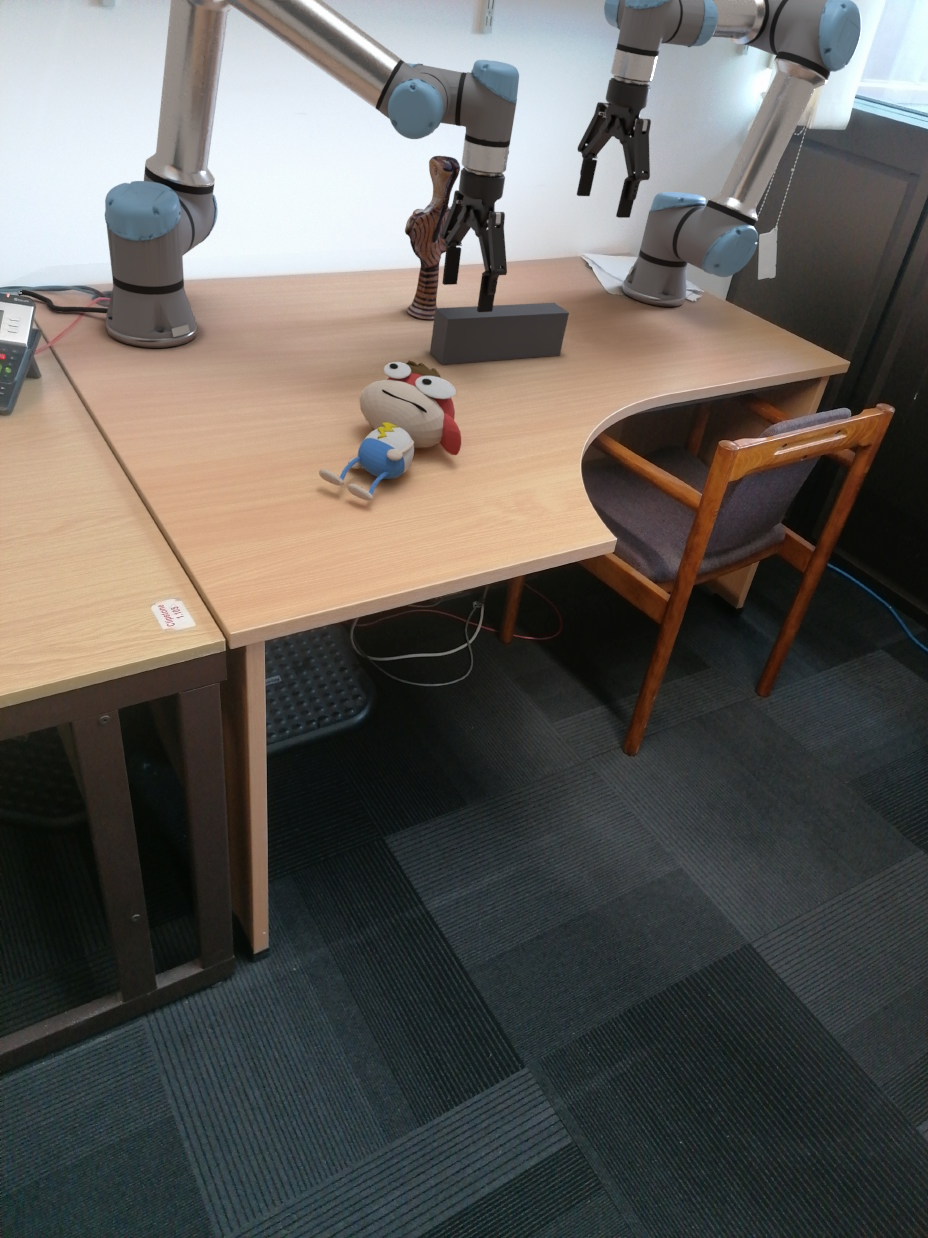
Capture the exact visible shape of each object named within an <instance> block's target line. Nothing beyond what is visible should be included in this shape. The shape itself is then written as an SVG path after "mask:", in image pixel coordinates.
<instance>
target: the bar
mask: <svg viewBox="0 0 928 1238" xmlns="http://www.w3.org/2000/svg"><path fill="white" fill-rule="evenodd" d="M477 307H478V305H477V306H475V305H474V306H455V307H454V306H453V307H437V308H435V316H434V319H433V326H432V332H431V341H430V350H429V354H430V355H431V356H432V357H434V359H435V360H436V361H438V362H439V363H440V364H441V365H459V364H468V363H469V364H471V363H480V362H481V363H483V362H494V361H506V360H508V361H509V360H519V359H531V358H542V357H543V358H544V357H558V356H561V353H562V352H561V351H562V346H563V342H564V338H565V333H566V330H567V329H566V328H567V325H568V319H569V315H570V312H569V311H567V309H564V308H563V307H561V306H560V305H559V304H557V303H556V302H541V303H520V304H519V303H518V304H498V305H497V304H496V305H494V304H493V310H492V312H478V311H477Z"/></svg>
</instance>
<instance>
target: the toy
mask: <svg viewBox="0 0 928 1238" xmlns="http://www.w3.org/2000/svg"><path fill="white" fill-rule="evenodd" d="M383 373H384V374H385V375H386V376H387V377H388V378H387V379H382V380H381V379H380V380H375V381H373V382H371V383H369V384H367V385H366V386H365V387H364V388H363V389H362V391H361V393H360V396H359V397H358V398H359V407H360V411H361V414H362V416H363V417H364V419H365V420H366V422H367V423H368V424H369V426H371V427H372V428H373V430H372V431H371V432H369V433H368V434H367V435H366V436H365V438H364V439H363V440H362V441H361V443H360V445H359V448H358V451H357V456H356V457H351V458H349V459H348V460H347V464H346V465H345V467H344V468H343V470H342V471H341V473H340V475H337V474H336V473H334V472H333V471H331V470H329V469H326V468H320V469H319V471H318V476H319V477H320V478H321V479H323V480H324V481H325V482H328V483H329V484H331V485H333V486H334V485H335V486H341V487H342V486H344V485H345V481H344V480H345V477H346V476H347V473H348V472H349V471H350V469H355V470H358V469H361V468H363V469H364V470H365V471H366V472H367V473H369V474H371V475H373V476H374V477H376V478H375V480H373V482H372V484H371V485H370V487H369V490H366V489H365V488H363V487H361V486H360V485H357V484H356V483H350V484H348V485H347V490H348V492H349V493H350V494H352V495H353V496H355V497H357V498H358V499H361V500H364V501H367V502H368V501H373V500H374V496H373V495H374V492H375V489H376V488H377V486H378V484H379V483H380V482H381V481H382V480H391V479H396V478H398V477H400V476H403V474H404V473H406V472H407V471H408V469H409V468H410V466H411V465H412V462H413V459H414V455H415V449H418V448H419V449H420V448H431V447H433V446H435V445H437V444H440V445H441V447H442V448H443V449H444V450H445V451H446V453H448V454H450V455H451V456H458V454H459V453H460V451H461V447H462V434H461V431H460V428H459V426H458V424H457V422H456V421H455V418H456V417H455V415H456V411H455V405H454V401H453V399H452V398H453V397H455V395H456V394H457V390H456V388H455V386H454V385H453V384H452V383H451V382H449V381H448V380H447V379H444V378H442V377H441V375H440V373H439V372H438V370H437V369H436V368H435V367H433V368H432V367H431V369H430V368H429V367H428V366H427V365H425V363H423V362H419V363H416V362H415V361H412V360H408V361H407V362H403V361H392V362H388V363H387V364H385V365H384V367H383Z"/></svg>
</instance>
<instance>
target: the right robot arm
mask: <svg viewBox="0 0 928 1238" xmlns="http://www.w3.org/2000/svg"><path fill="white" fill-rule="evenodd" d="M603 13H604V18H605V20H606V22H607V23H608V24H609V25H610V26H611V27H614V28H616V29H618V30H619V33H618V39H617V43H616V48H615V51H614V56H613V60H612V65H611V70H610V74H611V75H612V77H611V78H610V79H609V80H608V83H607V89H606V95H605V101H606V102H599V101H598V102H597V103H596V106H595V110H594V113H593V116H592V118H591V120H590V122H589V124H588V126H587V128H586V130H585V132H584V134H583V136H582V138H581V140H580V142H579V144H578V145H577V152H578V153H580V154H581V157H582V161H581V167H580V172H579V174H580V176H579V181H578V187H577V189H576V190H577V191H576V196H578V197H590V196H591V191H592V186H593V182H594V178H595V174H596V168H597V165H598V160H597V159H598V154H599V153H600V152H601V151H602V149H603V148H604V147H605V146H606V145H607V143H608V142H609V141H610V139H612V137H614V139H616V140H618V141H619V144H620V145H621V146H622V150H623V157H624V161H625V167H626V173H627V177H626V178H624V181H623V184H622V188H621V189H622V190H621V193H620V198H619V201H618V206H617V210H616V214H615V216H616V218H619V219H622V218H623V219H624V218H625V219H626V218H627V219H628V218H629V219H630V218H631V215H632V211H633V210H632V209H633V206H634V202H635V200H636V198H637V195H638V192H639V187H640V183H641V182H642V181H649V180H650V177H651V163H650V162H651V161H650V159H651V158H650V131H651V124H652V121H651V120H652V119H650V118H642V117H641V111H642V110H643V109H645V108H646V107H647V105H648V100H649V97H650V93H651V87H650V84H649V83H651V82H652V81H653V79H654V74H655V69H656V65H657V60H658V57H659V54H660V49H661V46H662V44H666V45H667V44H668V45H675V46H684V47H687V48H692V47H702V46H703V45H705V44H707V43H708V42H710V40H711V38H725V39H729V40H731V42H733V43H734V44H736V45H742V46H749V47H751V48H755V49H758V50H761V51H763V52H765V53H768V54H771V55H773V56H775V57H774V59H773V66H774V69H775V74H774V77H773V79H772V81H771V83H770V85H769V87H768V90H767V92H766V93H765V95H764V98H763V100H762V102H761V104H760V107H759V109H758V110H757V113H756V115H755V116H754V119H753V121H752V124H751V125H750V128H749V129H748V132H747V134H746V136H745V138H744V140H743V143H741V146H740V149H739V150H738V152H737V155H736V157H735V159H734V161H733V164H732V166H731V168H730V170H729V172H728V173H727V176H726V178H725V180H724V182H723V184H722V186H721V188H720V191H719V192H718V193H717V194H716V195H713V196H711V197H710V198H708V199H707V200H706V198H705V196H703V195H701V194H700V195H699V194H694V193H689V192H679V191H662V192H659V193H657V194H656V195H655V196H654V197H653V200H652V203H651V205H650V208H649V210H648V215H647V219H646V223H645V227H644V231H643V236H642V240H641V244H640V249H639V252H638V256H637V258H636V260H635V261H634V263H633V265H632V266H631V267H630V269H629V270H628V274H627V275H626V277H625V278H624V279H623V284H622V288H621V290H622V291H623V293H624V294H625V295H626V296H628V297H630V298H631V299H633V300H635V301H638V302H641V303H644V304H647V305H651V306H658V307H666V308H669V307H670V308H673V307H679V306H682V305H684V304H685V301H686V297H687V267H688V264H689V265H691V266H693V267H696V268H697V269H700V270H702V271H703V272H705V273H707V274H708V275H713V276H716V277H718V278H728V277H731V276H733V275H735V274H736V273H738V272H740V271H741V270H742V269H743V268H744V267H745V266H746V265H747V264H748V263H749V262H750V260H751V259H752V257H753V256H754V254H755V252H756V249H757V247H758V242H757V241H758V240H759V233H758V231H757V230H756V228H755V227H756V225H757V223H758V221H759V218H758V214H757V206H758V205H759V204H760V201H761V199H762V197H763V195H764V193H765V192H766V189H767V187H768V185H769V183H770V181H771V179H772V176H773V175H774V172H775V171H776V169H777V167H778V164H779V163H780V160H781V158H782V157H783V154H784V152H785V150H786V148H787V147H788V145H789V142H790V140H791V139H792V137H793V135H794V132H795V130H796V128H797V126H798V124H799V122H800V120H801V118H802V116H803V114H804V112H805V110H806V108H807V106H808V104H809V102H810V100H811V98H812V96H813V94H814V92H815V91H816V90H817V89H818V88H820V87H822V86H824V85H826V84H827V82H828V80H829V79H830V77H831V75H832V73H835V72H838V71H839V72H840V71H841V70H842V69H845V68H846V66H847V65H848V64H849V63H851V61H852V59H853V57H854V56H855V54H856V52H857V49H858V47H859V43H860V40H861V34H862V27H863V26H862V14H861V10H860V8H859V7H858V5H857V4H856V3H855V2H854V1H853V0H605V1H604V5H603ZM706 201H707V202H706Z"/></svg>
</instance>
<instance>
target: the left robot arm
mask: <svg viewBox="0 0 928 1238" xmlns="http://www.w3.org/2000/svg"><path fill="white" fill-rule="evenodd" d="M234 8H235V9H236V11H238V12H240V13H241V14H243V15H244V16H245V17H246V18H248V19H250V20H251V21H252V22H254V23H255V24H257V25H258V26H260V27H261V28H262V29H263V30H265V31H267V32H268V34H270V35H272V36H273V37H275V38H276V39H278V40H279V41H281V42H282V43H283V44H285V45H286V46H288V47H289V48H290V49H291V50H293V51H294V52H296V53H297V54H298V55H300V56H301V57H303V58H304V59H306V60H307V61H308V62H310V63H311V64H313V65H314V66H315V67H317V68H318V69H320V70H321V71H322V72H323V73H325V74H326V75H328V76H329V77H331V78H332V79H334V80H335V81H336V82H338V83H339V84H341V85H342V86H343V87H345V88H346V89H347V90H349V91H350V92H351V93H353V94H355V95H356V96H357V97H358V98H360V99H362V100H363V101H364V102H366V103H367V104H369V105H370V106H372V107H373V108H374V109H375V110H376V111H378V112H380V113H381V114H382V115H383V116H384V117H386V118H387V119H388V120H389V122H390V123H391V125H392V127H393V128H394V130H395V131H396V132H397V133H398V134H399V135H401V136H402V137H403V138H406V139H410V140H419V139H420V140H421V139H423V138H426V137H427V136H428V137H429V136H430V135H431V134H433V133H434V132H435V131H436V130H437V129H438V128H439V126H440V124H446V125H452V126H457V127H465V133H464V139H463V149H462V155H461V156H462V157H461V165H462V167H463V168H462V169H460V173H459V183H458V190H454V193H453V199H452V204H451V206H450V207H451V208H450V211H449V214H448V216H447V219H446V222H445V224H444V227H443V229H442V232H441V239H444V240H445V246H446V252H445V257H444V264H443V265H444V267H443V273H442V282H441V283H442V285H445V286H447V285H448V286H450V285H458V279H459V270H460V262H461V256H462V255H461V254H462V246H463V244H462V243H463V240H464V239H465V237H466V235H468V233H469V231H470V230H473V231H474V235H475V236H476V237H477V238H478V242H479V247H480V252H481V257H482V263H483V267H484V271H483V272H482V273H481V280H480V288H479V294H478V301H477V306H478V307H477V311H478V312H492V310H493V306H494V302H495V296H496V293H497V286H498V279H499V277H500V276H506V275H507V274H508V265H507V251H506V240H505V239H506V238H505V221H506V213H505V212H504V211H496V204H495V203H496V202H497V201H499V200H501V198H503V195H504V189H505V187H504V186H505V183H506V182H505V181H506V176H505V174H504V173H505V172H506V171H507V165H508V159H509V154H510V145H511V140H512V139H511V138H512V132H513V128H514V120H515V115H516V109H517V102H518V90H519V81H520V72H519V70H518V68H517V67H515V66H514V65H513V64H510V63H506V62H502V61H497V60H488V59H477V60H476V61H474V63H473V66H472V69H471V72H469V71H467V72H464V71H457V70H452V69H446V68H442V67H441V68H440V67H435V66H430V65H425V64H423V63H411V62H405V61H404V60H403V59H402V58H400V57H399V56H398V55H397V54H395V53H394V52H393V51H391V50H390V49H388V48H387V47H385V45H383V44H382V43H381V42H379V41H378V40H376V39H375V38H373V37H372V36H371V35H369V34H368V33H367V32H365V31H364V30H363V29H361V28H360V27H359V26H357V25H356V23H355V24H354V23H353V22H352V21H351V20H349V19H348V18H347V17H345V16H344V15H343V14H342V13H340V12H339V11H337V10H336V9H335V8H333V7H332V6H330V5H329V4H328V3H327V2H325V1H324V0H170V7H169V16H168V25H167V36H166V37H167V38H166V46H165V47H166V48H165V57H164V67H163V77H162V87H161V96H160V97H161V98H160V108H159V117H158V127H157V137H156V147H155V148H156V149H155V152H154V154H153V155H151V156H149V157H147V158H146V159H145V163H144V172H143V173H144V174H143V180H134V181H130V183H129V182H123V183H120V184H117V185H115V186H113V187H112V188H111V189H110V190H109V191H108V192H107V193H106V195H105V199H104V204H105V205H104V208H105V209H104V210H105V211H104V221H105V224H106V233H107V241H108V250H109V259H110V268H111V277H112V291H111V295H110V300H109V303H108V307H94V306H93V307H91V306H60V305H55V304H54V301H52V299H51V298H49V297H46V296H44V295H43V294H40V293H37V292H35V291H31V290H29V289H28V290H27V289H21V290H22V291H20V292H22V294H19V296H28V297H31V298H34V299H35V300H38V301H41V302H43V303H45V304H47V307H48V308H49V310H52V311H55V312H58V313H59V312H61V313H91V314H92V313H95V314H106V315H105V326H106V328H105V329H106V332H107V334H108V335H109V336H110V337H111V338H112V339H114V340H116V341H117V342H120V343H123V344H126V345H130V346H133V347H140V348H152V349H157V348H160V349H163V348H171V347H177V346H182V345H184V344H187V343H189V342H191V341H193V340H194V339H195V338H196V337H197V335H198V324H197V320H196V317H195V315H194V311H193V309H192V306H191V304H190V300H189V298H188V296H187V293H186V290H185V278H184V276H185V275H184V260H183V259H184V258H183V257H184V256H185V255H186V254H187V253H188V252H191V250H193V249H194V248H196V247H197V246H199V244H201V243H203V242H204V241H205V240H206V239H207V238H209V236H210V235H211V232H212V231H213V229H214V227H215V226H216V223H217V220H218V214H219V213H218V211H219V210H218V202H217V199H216V195H215V194H214V189H215V183H216V182H215V179H216V178H215V177H214V175H213V174H212V172H211V171H210V169H209V167H208V166H209V159H210V153H211V152H210V151H211V144H212V136H213V130H214V122H215V114H216V107H217V99H218V92H219V84H220V79H221V78H220V77H221V70H222V69H221V68H222V62H223V55H224V54H223V53H224V47H225V39H226V32H227V26H228V25H227V24H228V18H229V17H228V16H229V12H230V11H231V10H232V9H234ZM448 231H451V232H448Z"/></svg>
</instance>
